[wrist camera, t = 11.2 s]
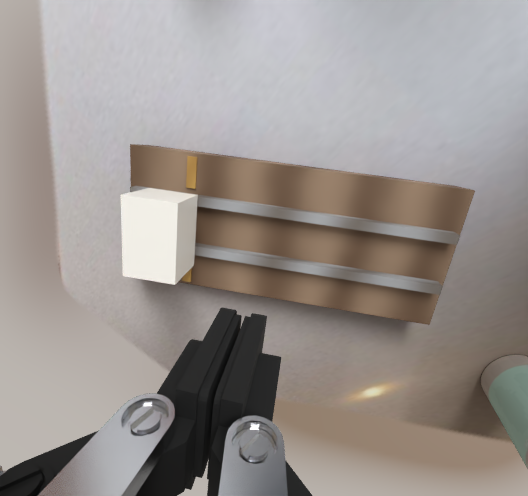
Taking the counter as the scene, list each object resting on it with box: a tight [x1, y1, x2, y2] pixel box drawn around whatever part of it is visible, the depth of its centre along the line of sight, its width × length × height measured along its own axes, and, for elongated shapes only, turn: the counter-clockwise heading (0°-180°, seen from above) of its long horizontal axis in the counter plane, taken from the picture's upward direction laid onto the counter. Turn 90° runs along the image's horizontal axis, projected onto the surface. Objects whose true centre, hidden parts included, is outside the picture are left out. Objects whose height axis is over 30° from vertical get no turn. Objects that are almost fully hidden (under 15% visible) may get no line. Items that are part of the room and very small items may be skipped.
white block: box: [121, 188, 198, 285], centre depth 24 cm, size 4×6×6 cm, turn 173°
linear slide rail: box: [130, 144, 475, 325], centre depth 28 cm, size 28×12×4 cm, turn 83°
